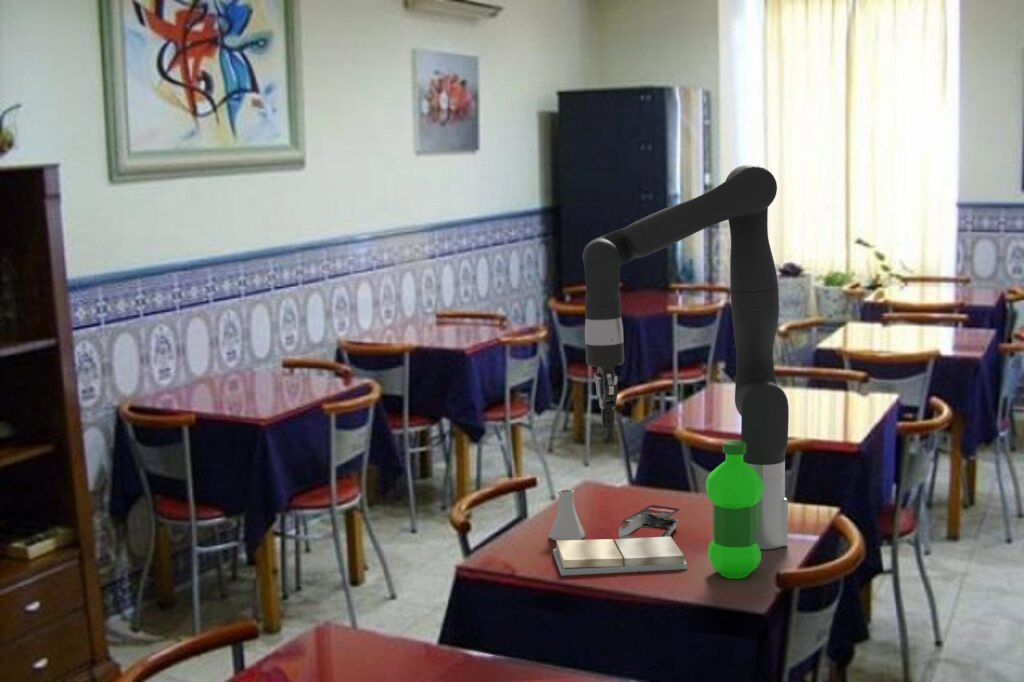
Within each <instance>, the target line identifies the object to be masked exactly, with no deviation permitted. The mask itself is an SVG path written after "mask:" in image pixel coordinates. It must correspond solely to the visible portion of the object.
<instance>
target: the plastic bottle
mask: <svg viewBox="0 0 1024 682" xmlns="http://www.w3.org/2000/svg"><path fill="white" fill-rule="evenodd" d="M722 453H723V454H725V460H724V461H723V462H721V463H720V464H719V465H718V466H716V467H715V468H714V469H713V470H712V471H710V473H708V475H707V478H706V480H705V490H706V493H707V494H706V495H707V497H708V499H709V500H710V502H711V503H712V539H711V541H710V543H709V545H708V547H707V556H708V559H709V561H710V563H711V566H712V567H713V569H714V570H715V571H716V572H718V574H720V575H721V576H722V577H724V578H727V579H736V580H738V579H745V578H746V577H748V576H749V575H750V574H751V573H752V572H753V571H755V570H756V569H757V568H758V567H759V565H760V563H761V561H762V551H761V549H759V546H758V544H757V543H756V504H757V503H758V502H759V501H760V500H761V499H762V495H763V482H762V480H761V477H760V476H759V475H758V473H757V472H756V471H754V470H753V469H752V468H751V467H750V466H749V465H748V464H747V463H745V462H744V461H743V454H745V453H746V442H744V441H741V439H740V440H739V439H732V440H731V439H730V440H724V441H723V442H722Z"/></svg>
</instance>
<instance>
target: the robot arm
mask: <svg viewBox="0 0 1024 682" xmlns="http://www.w3.org/2000/svg"><path fill="white" fill-rule="evenodd" d="M777 191H778V183H777V181H776V178H775V176H774V174H773V173H771V171H770V170H768V168H765V167H763V166H760V165H755V164H743V165H740V166H738V167H736V168H734V169H732V170H731V171H730V173H729V174H728V176H726V179H725V181H724V182H722V183H720V184H719V185H717V186H716V187H714V188H712V189H711V190H709V191H707V192H705V193H703V194H701V195H698V196H696V197H694V198H691V199H688V200H685V201H683V202H680V203H677V204H674V205H671V206H669V207H666V208H663V209H661V210H659V211H656V212H654V213H652V214H648V216H647V215H646V216H644V217H643V218H640V219H639V220H638V219H637V220H636V221H634V222H632V223H631V224H628V225H627V226H625V227H623V228H620V229H617V230H614V231H612V232H609V233H607V234H604V235H601V236H599V237H597V238H594V239H592V240H590V241H589V242H588V243H587V244H586V245H585V246H584V249H583V251H582V261H583V268H584V280H585V295H584V315H585V323H584V324H585V325H584V342H585V343H584V344H585V363H586V365H587V366H589V367H593V368H596V373H594V382H595V388H596V396H597V402H598V404H599V408H600V415H601V418H600V419H601V426H602V427H603V428H604V429H608V428H610V429H611V428H613V427H614V426H615V422H614V420H615V418H614V409H615V408H616V407H617V400H618V399H617V398H618V393H619V392H618V391H619V386H618V374H616V373H615V370H614V367H616V366H617V367H618V366H621V365H623V364H624V362H625V348H624V347H625V346H624V344H625V342H624V325H623V320H622V304H621V303H622V300H621V293H620V283H621V282H620V281H621V280H620V278H621V277H620V276H621V266H622V265H623V266H624V264H627V263H629V262H631V261H633V260H635V259H639V258H644V257H648V256H649V255H650V256H651V255H652V254H654V253H657V252H658V251H662V250H663V249H665V248H668V247H669V246H672V245H674V244H676V243H678V242H680V241H682V240H684V239H686V238H688V237H690V236H693V235H695V234H696V233H698V232H700V231H702V230H706V229H707V228H709V227H712V226H714V225H718V224H720V223H723V222H725V221H728V225H729V233H730V234H729V235H730V253H729V254H730V255H729V257H730V258H729V259H730V260H729V265H730V266H729V276H730V277H729V279H730V280H729V281H730V283H729V285H730V292H729V293H730V308H731V319H732V328H733V336H734V337H733V339H734V343H735V351H736V352H735V353H736V354H735V355H736V370H735V386H734V403H735V408H736V410H737V412H738V413H739V415H740V416H741V420H740V421H741V423H740V425H741V426H740V428H741V429H740V430H741V431H740V441H744V442H746V453H745V454H743V461H744V462H745V463H747V464H748V465H749V466H750V467H751V468H752V469H753V470H754V471H756V472H757V473H758V475H759V476H760V477H761V480H762V482H763V495H762V499H761V500H760V501H759V502H758V503H757V504H756V543H757V544H758V546H759V549H760V550H773V549H779V548H781V547H788V546H789V541H788V540H789V526H788V525H789V500H788V498H787V497H786V495H785V494H786V491H785V490H786V471H785V470H786V450H787V447H788V443H789V417H790V416H789V415H790V414H789V413H790V411H789V410H790V409H789V407H790V406H789V401H788V400H789V399H788V398H787V395H786V393H785V392H784V390H783V389H782V388H781V387H780V386H778V384H777V379H776V375H775V364H774V344H775V339H776V335H777V334H776V333H777V330H778V325H779V316H780V296H779V281H778V274H777V269H776V265H775V260H774V256H773V253H772V250H771V249H772V248H771V245H770V240H769V231H768V220H769V219H768V215H769V212H768V211H769V206H771V205H772V203H773V202H774V201H775V198H776V196H777Z"/></svg>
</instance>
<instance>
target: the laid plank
mask: <svg viewBox="0 0 1024 682" xmlns="http://www.w3.org/2000/svg"><path fill="white" fill-rule="evenodd" d="M613 541H614V543H615V545H616V547H617V549H618V550H619V552H620V554H621V556H622V558H623V563H624V565H625V566H640V565H659V564H678V563H684V560H685V555H684V554H683V552H682V550H681V549H680V548H679V546H678V545H677V544H676V542H675V541H674V539H673V538H672V536H671V535H670V536H668V537H661V536H654V537H652V536H651V537H644V538H635V537H634V538H630V539H620V538H618V539H617V538H614V539H613Z"/></svg>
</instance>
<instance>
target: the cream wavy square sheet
mask: <svg viewBox="0 0 1024 682" xmlns="http://www.w3.org/2000/svg"><path fill="white" fill-rule="evenodd" d="M555 542H556V543H555V544H556V547H555V549H557V551H558V554H559V556H560V559H561V562H562V564H563V567H564V568H572V567H608V566H623V558H622V556H621V554H620V552H619V550H618V549H617V547H616V545H615V543H614V539H613V538H610V539H609V538H607V539H605V538H604V539H601V538H600V539H581V540H559V541H555Z"/></svg>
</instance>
